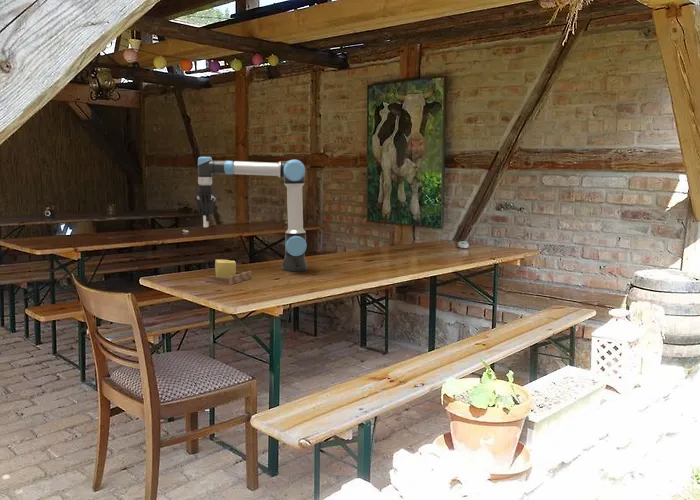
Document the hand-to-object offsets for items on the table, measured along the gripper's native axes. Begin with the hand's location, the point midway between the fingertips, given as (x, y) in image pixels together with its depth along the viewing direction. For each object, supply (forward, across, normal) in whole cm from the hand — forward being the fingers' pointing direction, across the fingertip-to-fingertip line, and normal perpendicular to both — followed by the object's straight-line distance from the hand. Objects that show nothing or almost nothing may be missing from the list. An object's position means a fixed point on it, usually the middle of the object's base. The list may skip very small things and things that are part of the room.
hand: (206, 227), depth 341 cm
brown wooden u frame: (+26, +22, -14) cm, 37 cm away
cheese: (+26, +20, -12) cm, 35 cm away
